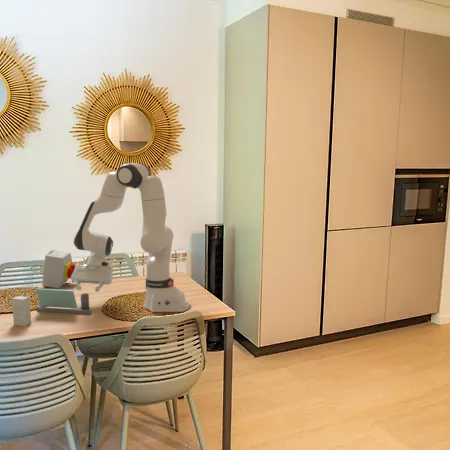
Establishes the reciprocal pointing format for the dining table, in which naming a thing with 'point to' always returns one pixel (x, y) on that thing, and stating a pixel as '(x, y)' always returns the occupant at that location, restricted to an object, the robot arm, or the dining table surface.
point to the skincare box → (21, 310)
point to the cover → (56, 298)
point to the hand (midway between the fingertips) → (87, 290)
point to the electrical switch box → (57, 268)
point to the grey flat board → (63, 310)
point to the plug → (85, 301)
